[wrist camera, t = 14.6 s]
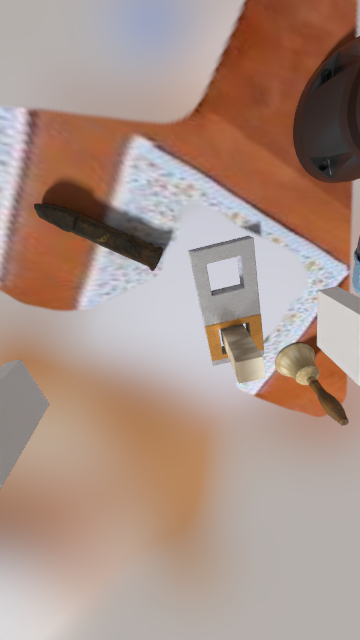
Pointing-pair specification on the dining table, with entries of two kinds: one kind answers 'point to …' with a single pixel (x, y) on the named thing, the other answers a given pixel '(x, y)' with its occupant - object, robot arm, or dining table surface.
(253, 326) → the grey board
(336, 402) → the hand bell
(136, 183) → the dining table surface
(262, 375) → the peg
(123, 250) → the hand tool
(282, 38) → the dining table surface
